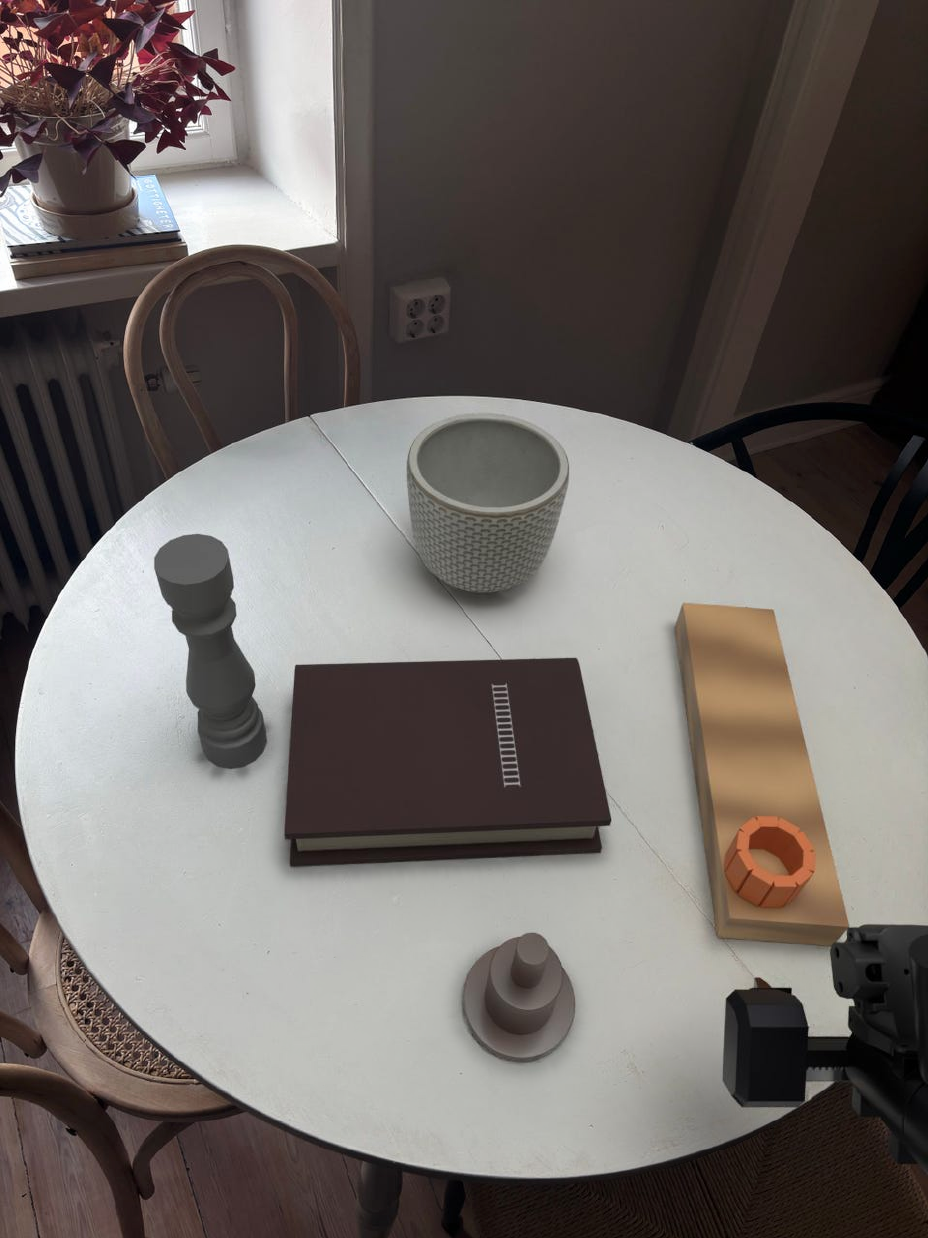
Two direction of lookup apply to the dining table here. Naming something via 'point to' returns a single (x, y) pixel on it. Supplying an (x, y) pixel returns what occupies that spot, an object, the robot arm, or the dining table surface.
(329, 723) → the book
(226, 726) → the candle holder
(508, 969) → the peg stand
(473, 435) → the planter
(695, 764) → the wooden board
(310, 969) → the dining table surface
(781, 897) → the ring
